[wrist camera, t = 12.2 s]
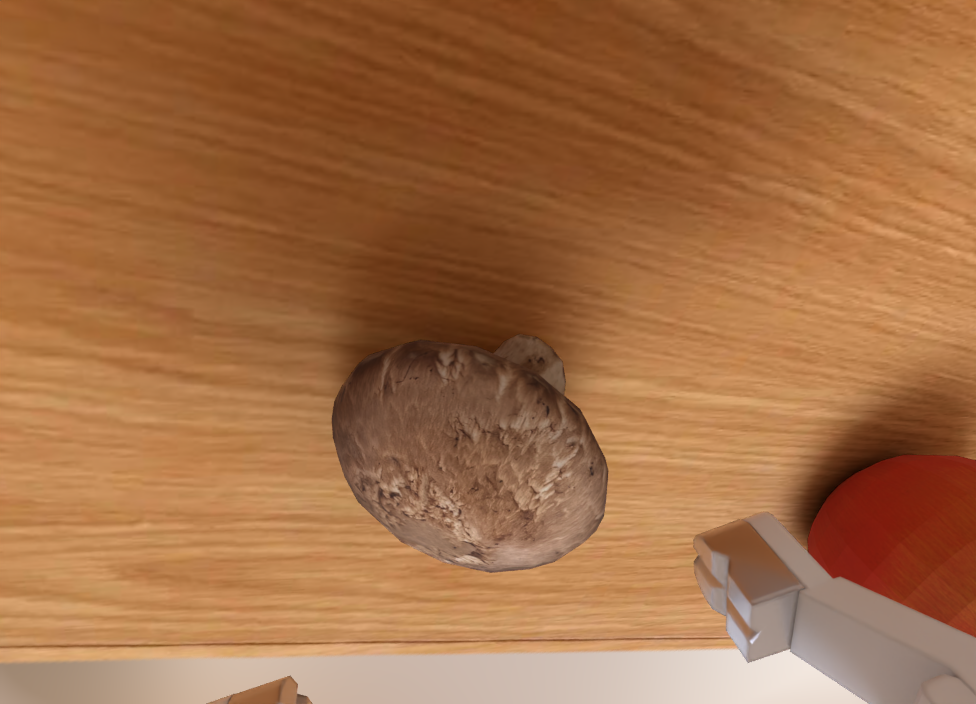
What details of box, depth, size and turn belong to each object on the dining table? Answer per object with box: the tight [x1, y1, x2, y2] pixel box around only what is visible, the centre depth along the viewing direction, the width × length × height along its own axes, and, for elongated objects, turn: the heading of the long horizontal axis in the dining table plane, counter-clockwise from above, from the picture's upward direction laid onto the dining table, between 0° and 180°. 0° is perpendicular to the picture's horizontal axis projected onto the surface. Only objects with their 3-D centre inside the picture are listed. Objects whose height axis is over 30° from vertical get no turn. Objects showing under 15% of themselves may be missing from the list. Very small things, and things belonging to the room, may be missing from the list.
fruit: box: [808, 455, 976, 638], centre depth 20 cm, size 10×10×10 cm
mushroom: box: [332, 334, 608, 573], centre depth 15 cm, size 8×8×6 cm
